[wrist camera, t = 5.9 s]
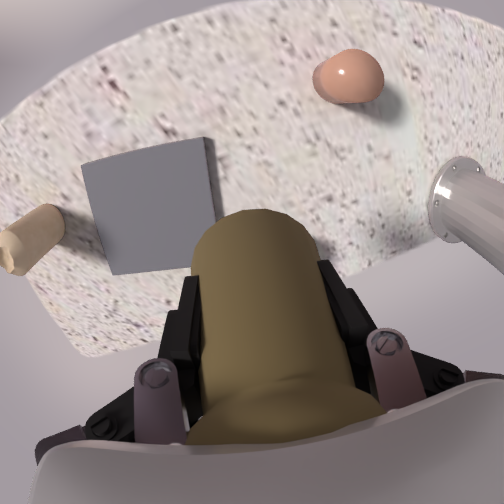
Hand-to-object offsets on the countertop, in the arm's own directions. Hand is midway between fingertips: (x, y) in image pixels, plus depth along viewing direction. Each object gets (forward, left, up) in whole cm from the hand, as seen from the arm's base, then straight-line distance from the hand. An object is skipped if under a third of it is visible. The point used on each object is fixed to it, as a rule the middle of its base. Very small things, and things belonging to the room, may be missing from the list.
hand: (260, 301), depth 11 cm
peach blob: (-11, -10, -20) cm, 25 cm away
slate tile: (+10, +2, -20) cm, 22 cm away
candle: (+25, +1, -20) cm, 32 cm away
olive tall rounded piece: (0, 0, -2) cm, 2 cm away
